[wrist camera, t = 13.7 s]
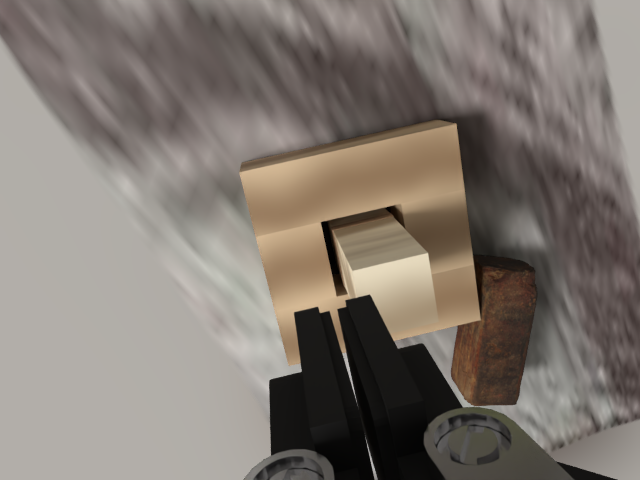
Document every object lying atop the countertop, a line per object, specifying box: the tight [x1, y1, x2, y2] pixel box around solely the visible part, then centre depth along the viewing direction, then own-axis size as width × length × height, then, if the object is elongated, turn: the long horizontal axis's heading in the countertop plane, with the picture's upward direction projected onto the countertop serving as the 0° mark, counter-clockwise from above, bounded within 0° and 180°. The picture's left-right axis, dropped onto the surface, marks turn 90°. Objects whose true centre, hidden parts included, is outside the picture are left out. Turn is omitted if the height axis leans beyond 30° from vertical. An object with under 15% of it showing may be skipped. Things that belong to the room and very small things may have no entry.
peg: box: [327, 208, 439, 334], centre depth 33 cm, size 4×4×12 cm
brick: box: [451, 255, 537, 406], centre depth 40 cm, size 11×4×5 cm, turn 176°
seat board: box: [239, 119, 481, 366], centre depth 37 cm, size 14×14×4 cm
